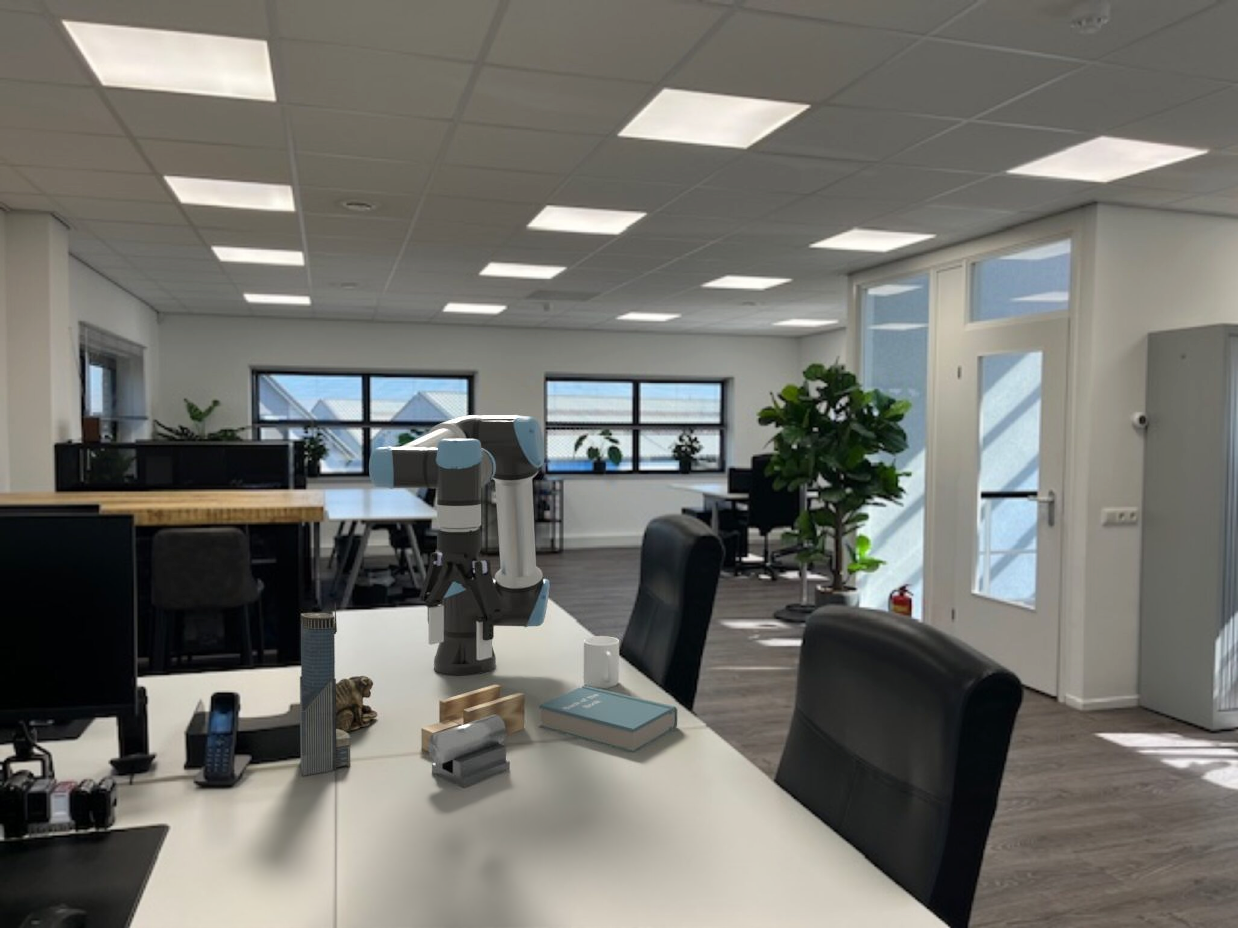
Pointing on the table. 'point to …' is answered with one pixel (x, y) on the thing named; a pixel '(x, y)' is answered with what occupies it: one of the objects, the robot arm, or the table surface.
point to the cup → (601, 662)
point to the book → (608, 718)
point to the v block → (474, 766)
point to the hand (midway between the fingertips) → (459, 650)
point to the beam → (478, 711)
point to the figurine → (353, 703)
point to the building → (320, 698)
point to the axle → (466, 739)
